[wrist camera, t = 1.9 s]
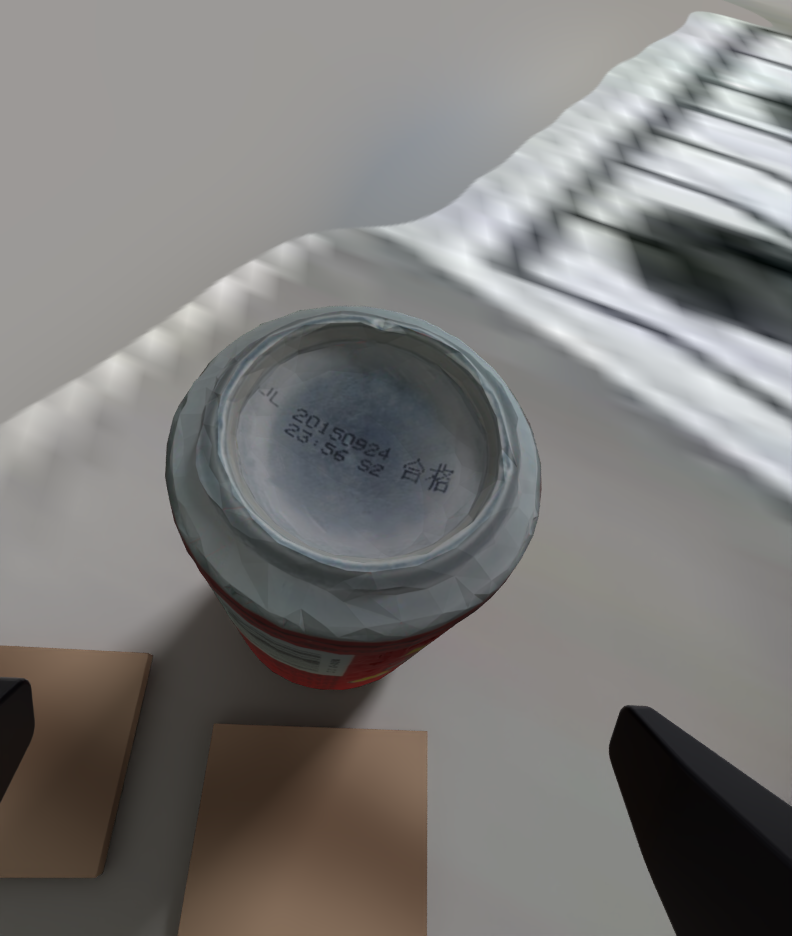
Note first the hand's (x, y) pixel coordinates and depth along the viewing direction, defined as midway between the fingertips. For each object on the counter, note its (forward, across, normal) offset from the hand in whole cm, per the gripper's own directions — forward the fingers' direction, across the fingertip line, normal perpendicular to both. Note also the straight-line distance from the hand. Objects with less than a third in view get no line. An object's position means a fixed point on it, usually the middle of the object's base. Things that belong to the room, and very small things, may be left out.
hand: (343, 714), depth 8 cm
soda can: (+11, 0, +5) cm, 12 cm away
